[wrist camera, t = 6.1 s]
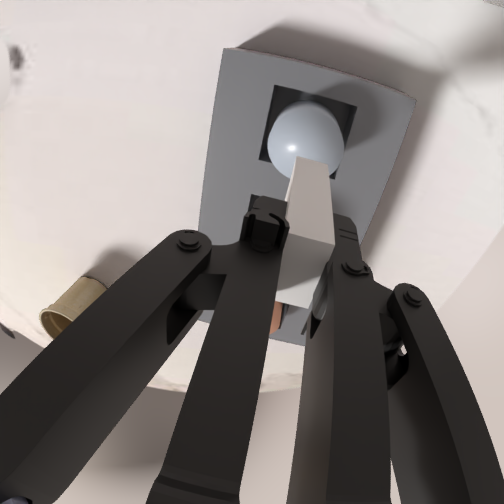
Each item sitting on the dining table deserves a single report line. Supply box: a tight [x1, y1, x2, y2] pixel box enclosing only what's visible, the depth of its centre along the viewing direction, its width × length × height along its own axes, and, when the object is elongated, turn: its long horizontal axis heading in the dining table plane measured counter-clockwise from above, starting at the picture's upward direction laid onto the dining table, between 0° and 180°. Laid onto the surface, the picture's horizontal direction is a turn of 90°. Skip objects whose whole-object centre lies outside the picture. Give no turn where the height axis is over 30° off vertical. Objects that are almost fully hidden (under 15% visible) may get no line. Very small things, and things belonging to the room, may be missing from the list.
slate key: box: [268, 100, 344, 179], centre depth 21 cm, size 5×5×4 cm
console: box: [198, 48, 417, 346], centre depth 29 cm, size 28×14×4 cm, turn 169°
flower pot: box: [39, 277, 107, 340], centre depth 40 cm, size 9×9×9 cm
